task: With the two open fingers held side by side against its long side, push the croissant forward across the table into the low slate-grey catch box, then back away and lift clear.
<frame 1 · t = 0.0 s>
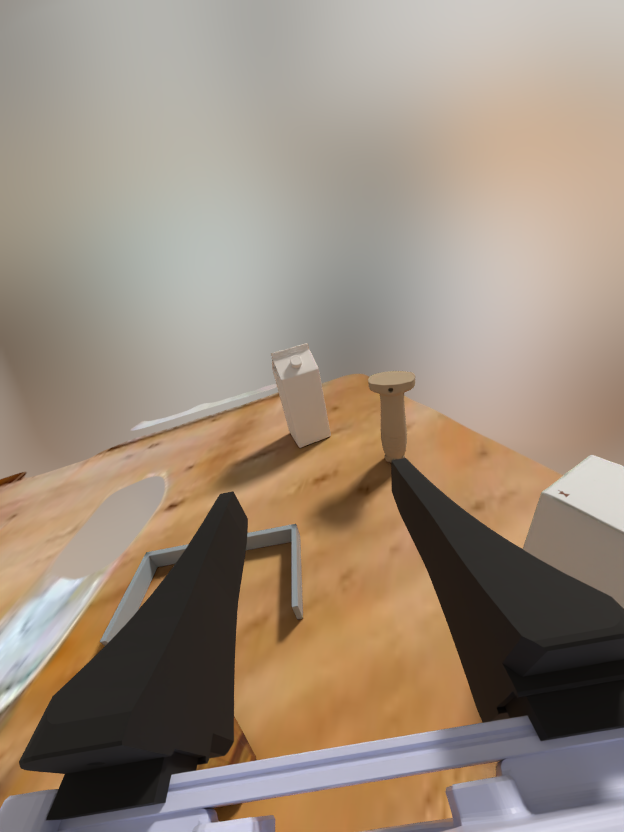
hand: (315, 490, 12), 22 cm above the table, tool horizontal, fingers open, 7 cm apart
handle: (394, 460, 45), on the table
supplement box: (576, 595, 24), on the table
croissant: (185, 743, 21), on the table
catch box: (218, 587, 31), on the table
milk carton: (309, 435, 57), on the table
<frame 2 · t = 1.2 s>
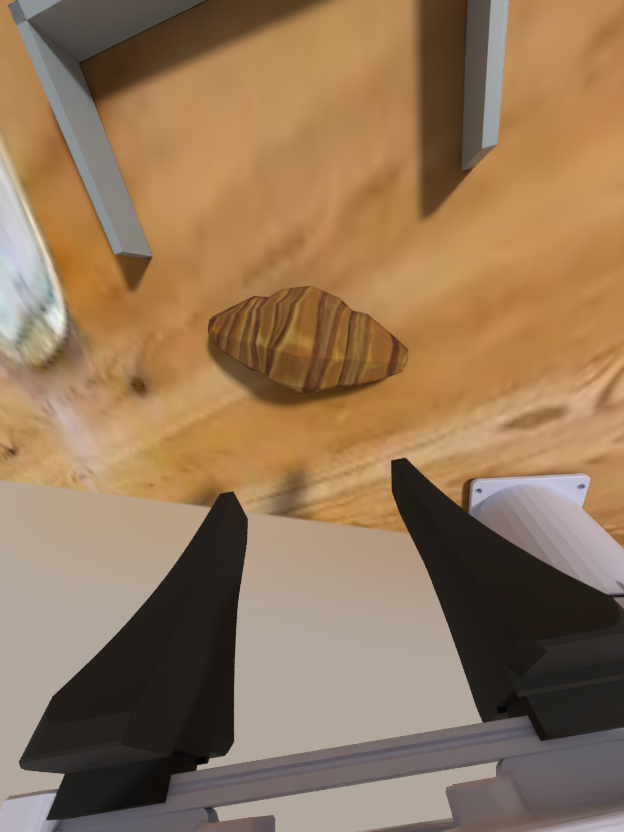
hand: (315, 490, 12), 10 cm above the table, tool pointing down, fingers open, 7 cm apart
croissant: (309, 338, 19), on the table
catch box: (266, 108, 14), on the table
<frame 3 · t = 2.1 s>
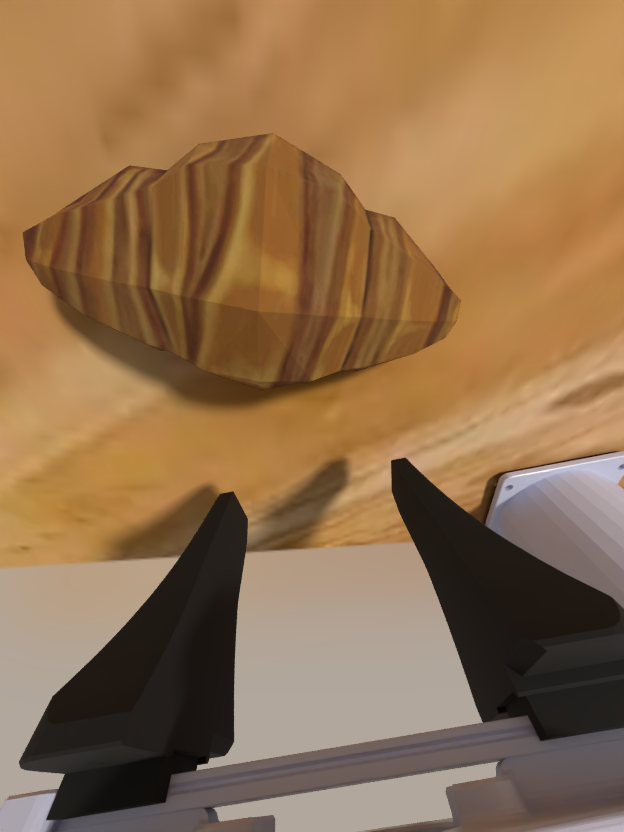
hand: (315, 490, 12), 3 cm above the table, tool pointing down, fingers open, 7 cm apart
croissant: (270, 281, 10), on the table
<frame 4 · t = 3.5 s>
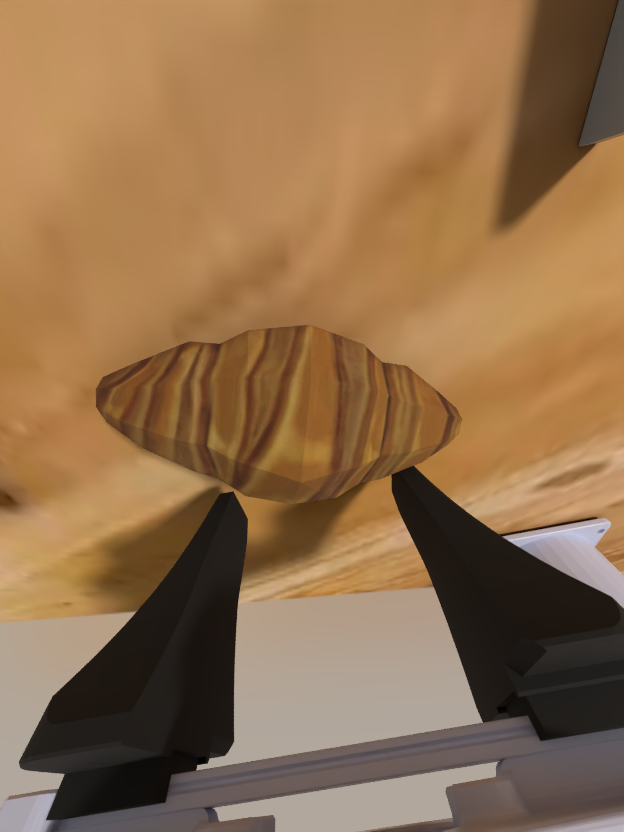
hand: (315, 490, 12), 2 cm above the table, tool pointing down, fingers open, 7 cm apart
croissant: (294, 390, 11), on the table, touching gripper
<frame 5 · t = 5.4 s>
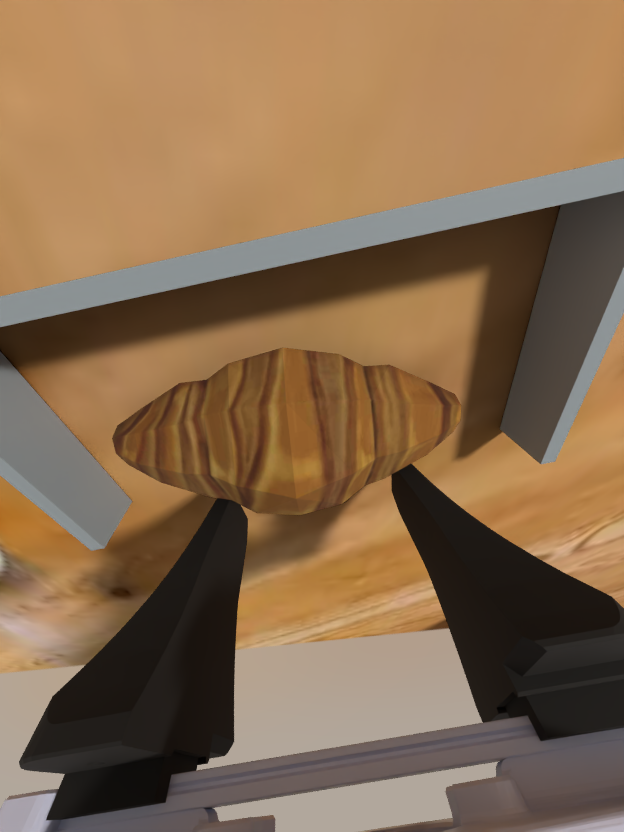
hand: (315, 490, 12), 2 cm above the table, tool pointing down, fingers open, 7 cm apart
croissant: (291, 404, 12), on the table
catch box: (291, 382, 11), on the table
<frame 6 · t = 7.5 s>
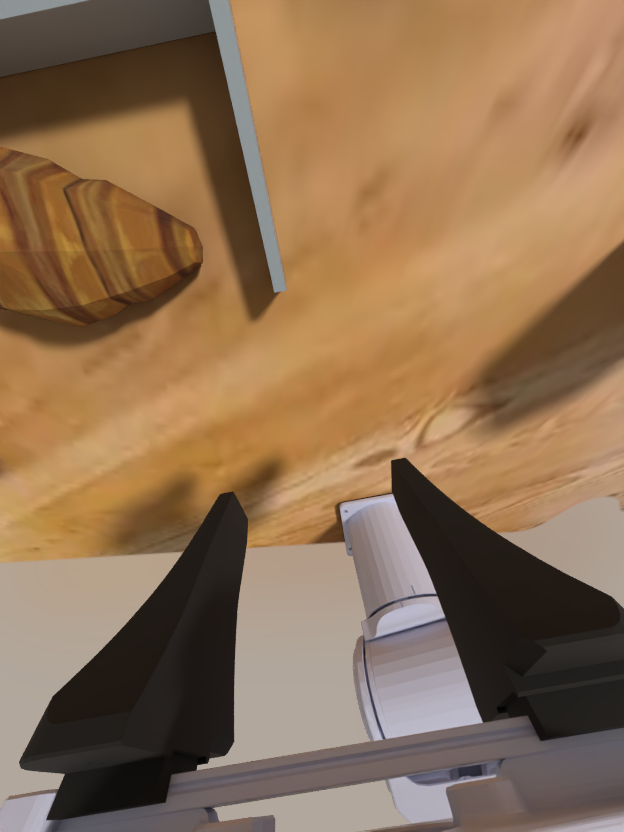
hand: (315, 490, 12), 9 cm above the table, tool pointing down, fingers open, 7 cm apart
croissant: (77, 248, 14), on the table
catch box: (57, 214, 13), on the table
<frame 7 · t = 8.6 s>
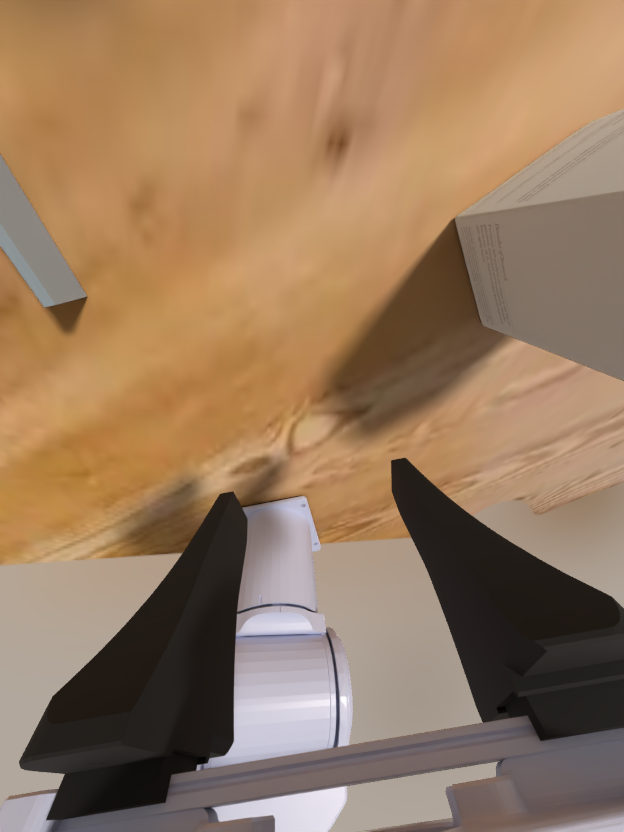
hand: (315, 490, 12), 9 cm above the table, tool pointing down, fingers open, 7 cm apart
supplement box: (524, 240, 16), on the table
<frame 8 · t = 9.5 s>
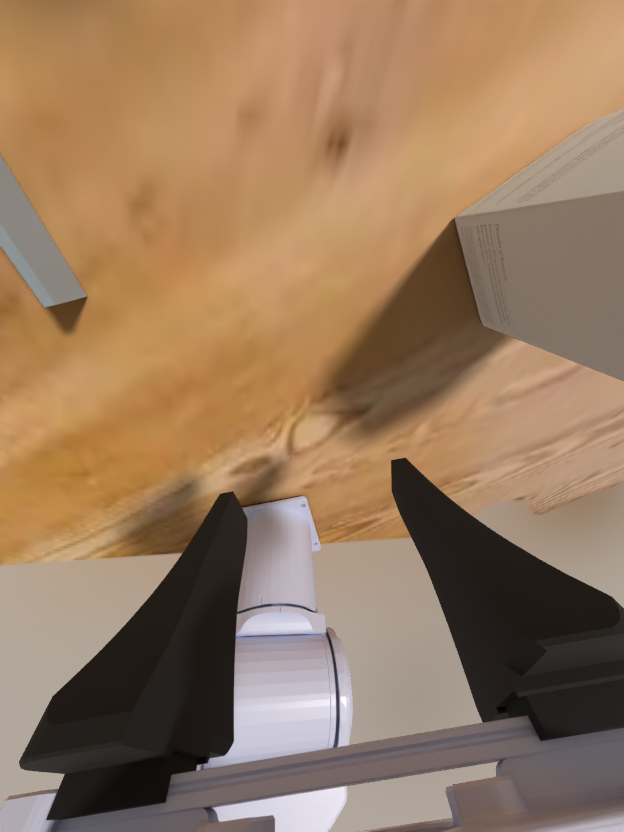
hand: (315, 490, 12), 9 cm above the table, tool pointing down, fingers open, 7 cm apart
supplement box: (524, 240, 16), on the table
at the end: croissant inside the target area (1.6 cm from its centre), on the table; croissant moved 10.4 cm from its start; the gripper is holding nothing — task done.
